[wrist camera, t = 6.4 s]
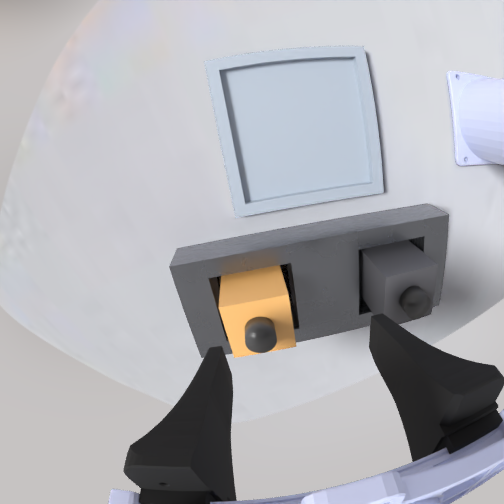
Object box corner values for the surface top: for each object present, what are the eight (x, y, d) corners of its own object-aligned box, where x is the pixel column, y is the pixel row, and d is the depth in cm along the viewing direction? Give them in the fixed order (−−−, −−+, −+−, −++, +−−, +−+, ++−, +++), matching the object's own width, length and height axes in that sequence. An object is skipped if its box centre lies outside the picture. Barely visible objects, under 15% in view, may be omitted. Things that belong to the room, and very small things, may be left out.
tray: (358, 49, 17) (363, 46, 16) (377, 189, 21) (383, 192, 20) (205, 64, 17) (203, 61, 16) (235, 213, 21) (235, 218, 20)
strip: (427, 203, 21) (448, 214, 19) (422, 287, 24) (438, 304, 22) (177, 248, 22) (169, 266, 19) (204, 334, 25) (201, 357, 22)
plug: (275, 251, 22) (292, 306, 16) (283, 297, 24) (299, 359, 17) (222, 262, 22) (217, 320, 16) (234, 306, 24) (234, 370, 17)
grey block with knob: (397, 231, 22) (448, 272, 16) (396, 275, 24) (439, 323, 17) (352, 240, 22) (394, 287, 16) (354, 285, 24) (389, 339, 17)
